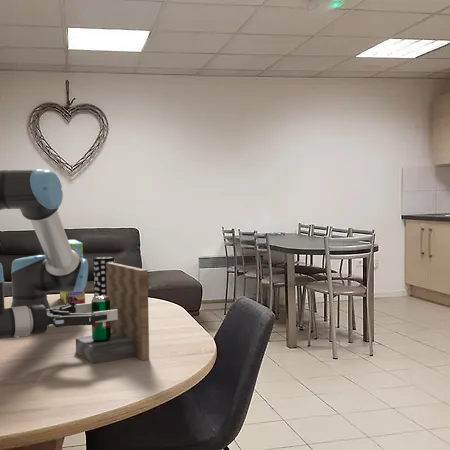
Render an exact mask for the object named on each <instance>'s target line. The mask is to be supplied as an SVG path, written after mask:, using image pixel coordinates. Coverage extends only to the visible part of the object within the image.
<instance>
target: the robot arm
mask: <svg viewBox="0 0 450 450" xmlns="http://www.w3.org/2000/svg"><path fill="white" fill-rule="evenodd" d="M63 198H64V197H63V190H62V183H61V180H60V178H59V177H58V175H57V174H56V173H55V171H52V170H50V169H41V168H37V169H11V170H10V169H9V170H8V169H3V170H2V169H1V170H0V211H3V210H20V212H21V214H22V216H23V217H24V218H25V219H26V220H29V221H30V223H31V226H32V228H33V229H34V233H35V234H36V237H37V239H38V242H39V243H40V247H41V248H42V250H43V254H37V255H31V256H30V255H29V256H25V257H20V258H16V259H14V260H13V261H12V262H11V272H10V274H11V289H12V290H11V296H12V301H11V304H10V307H5V277H4V269H3V268H4V267H3V266H4V265H3V264H2V263H1V262H0V340H4V339H12V338H15V339H17V340H19V339H20V338H21V337H26V336H29V335H31V336H33V335H40V334H41V335H43V334H46V333H47V330H48V327H49V325H52V326H53V327H56V328H60V327H61V328H62V327H76V326H79V327H80V326H91V327H92V326H95V323H98V322H105V321H112V320H118V310H117V309H115V310H107V311H99V312H93V313H92V307H91V302H87V303H86V302H85V304H76V305H75V303H74V302H70V304H66V305H65V304H63V305H62V304H61V305H57V306H53V307H51V306H50V303H49V300H48V292H49V293H50V292H51V293H53V292H54V293H55V292H56V293H58V292H59V293H60V292H76V291H82V290H84V289H85V288H86V286H87V283H88V278H89V277H88V276H89V262H88V259H87V258H84V257H83V258H82V259H80V258H79V256H78V254H77V253H76V252H75V251H74V250H72V249H71V247H70V244H69V241H68V240H69V239H68V236H67V233H66V231H65V229H64V226H63V225H64V224H63V222H62V219H61V217H60V215H59V212H58V210H59V208H60V206H61V204H62V202H63Z"/></svg>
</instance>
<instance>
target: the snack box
mask: <svg viewBox="0 0 450 450" xmlns="http://www.w3.org/2000/svg"><path fill="white" fill-rule="evenodd" d="M68 241H69V244H70V247H71V249H72V250H74V251H75V252H76V253H77V254H78V256H79V258H80V259H82V258H84V244H83V242H81V241H79V240H77V239H68ZM85 291H86V290H85V289H84V290H82V291H76V292H59V298H60V299H61V301H62V300H63V301H62V302H63V303H64V305H65V304H70V302H74V303H75V305H76V304H85V303H86V292H85Z"/></svg>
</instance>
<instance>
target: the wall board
mask: <svg viewBox="0 0 450 450" xmlns="http://www.w3.org/2000/svg"><path fill="white" fill-rule="evenodd" d="M148 271H149V270H148V269H144V268H141V267H135V266H130V265H125V264H121V263H116V262H115V263H113V262H111V263H106V286H107V296H108V297H109V300H110V310H115V309H117V310H118V320H112V321H111V338H110V340H108V341H104V342H96V341H94V340H93V339H92V335H86V336H81V337H75V353H77V354H78V355H79V356H82V357H83V358H85V359H87V360H88V361H89V362H91V363H92V364H99V363H105V362H111V361H115V360H116V361H117V360H121V359H126V358H133V356H134V357H135V358H137V359H138V360H141V361H148V360H150V333H149V331H150V330H149V329H150V328H149V325H150V324H149V322H150V321H149V276H148V275H149V274H148Z"/></svg>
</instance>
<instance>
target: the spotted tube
mask: <svg viewBox="0 0 450 450" xmlns="http://www.w3.org/2000/svg"><path fill="white" fill-rule="evenodd" d="M115 258H116V257H114V256H97V257H93V263H92V265H93V297H95V296H107V286H106V263H111V262H113V263H116V261H115V260H116V259H115Z"/></svg>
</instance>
